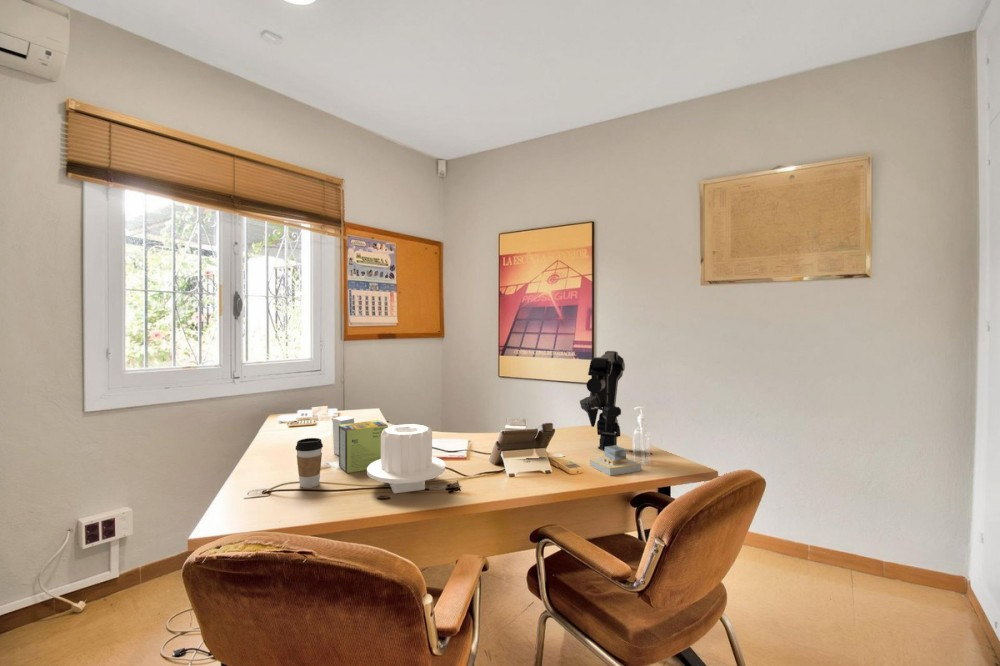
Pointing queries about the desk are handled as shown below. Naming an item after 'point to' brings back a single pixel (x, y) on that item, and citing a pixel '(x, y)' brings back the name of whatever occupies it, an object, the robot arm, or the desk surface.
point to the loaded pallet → (615, 455)
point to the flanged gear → (406, 458)
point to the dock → (615, 466)
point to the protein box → (360, 444)
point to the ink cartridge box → (515, 424)
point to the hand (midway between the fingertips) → (599, 429)
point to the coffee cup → (309, 461)
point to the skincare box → (336, 423)
